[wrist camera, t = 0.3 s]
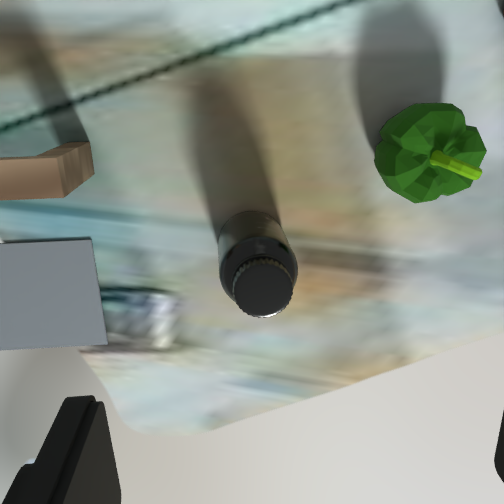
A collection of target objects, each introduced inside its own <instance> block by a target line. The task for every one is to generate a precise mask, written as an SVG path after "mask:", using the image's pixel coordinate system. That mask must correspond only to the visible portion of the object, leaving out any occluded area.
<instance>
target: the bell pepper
mask: <svg viewBox="0 0 504 504" xmlns="http://www.w3.org/2000/svg"><path fill="white" fill-rule="evenodd" d="M380 135H381V138H382V141H381V142H380V143H379V144H378V145H377V146H376V152H375V159H374V162H375V166H376V168H377V170H378V172H379V174H380V175H381V177H382V179H383V181H384V182H385V184H386V186H387V187H388V188H390V189H391V190H392V191H394V192H396V193H397V194H399V195H401V196H403V197H405V198H406V199H408V200H410V201H412V202H413V203H420V202H427V201H432V200H435V199H437V198H438V197H439V196H440V195H446V196H449V195H452V194H454V193H457V192H459V191H462V190H464V189H466V188H469V187H470V186H471V184H472V182H473V180H477V179H479V177H480V176H481V174H482V170H481V169H480V168H479V166H480V164H481V162H482V160H483V158H484V156H485V154H486V151H487V150H486V148H485V146H484V143H483V141H482V139H481V137H480V134H479V132H478V130H477V128H476V127H472V126H467V125H466V124H465V117H464V114H463V112H462V110H460V109H459V108H457V107H456V106H454V105H453V104H448V103H421V104H414V105H412V106H409V107H408V108H406V109H405V110H403V111H402V112H400V113H399V114H397V115H396V116H394V117H392V118H391V119H389V120H388V121H387V122H386V124H385V125H384V126H383V128H382V129H381V130H380Z"/></svg>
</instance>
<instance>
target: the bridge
mask: <svg viewBox="0 0 504 504" xmlns="http://www.w3.org/2000/svg"><path fill="white" fill-rule="evenodd" d="M92 175H94V167H93V160H92V154H91V147H90V142H67V143H65V144H63V145H60V146H58V147H56V148H53V149H51V150H49V151H46V152H44V153H42V154H39V155H37V156H31V157H4V158H0V200H20V199H44V198H64V197H65V196H67V195H68V194H69V193H71V192H72V191H73V190H74V189H76V188H77V187H78V186H80V185H81V184H82V183H83V182H85V181H86V180H87V179H89V178H90V177H91V176H92Z"/></svg>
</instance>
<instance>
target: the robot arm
mask: <svg viewBox="0 0 504 504" xmlns="http://www.w3.org/2000/svg"><path fill="white" fill-rule="evenodd" d="M494 462H495V468H496V471H497V473H498V475H499V476H500V478H501V479H502V481H503V482H504V412H503V417H502V422H501V427H500V432H499V437H498V443H497V448H496V452H495V458H494ZM2 504H121V489H120V484H119V478H118V473H117V468H116V463H115V458H114V452H113V447H112V442H111V437H110V432H109V426H108V421H107V416H106V411H105V407H104V403H103V402H102V401H99V402H96V400H95V397H94V396H92V395H90V396H77V397H67V398H65V400H64V402H63V403H62V406H61V408H60V410H59V412H58V414H57V416H56V418H55V420H54V422H53V424H52V427H51V429H50V431H49V433H48V435H47V437H46V439H45V441H44V443H43V446H42V448H41V450H40V452H39V454H38V456H37V458H36V460H35V462H34V463H32V464H25V465H24V466H23V467H21V469H20V470H19V472H18V473H17V475H16V477H15V479H14V481H13V483H12V485H11V487H10V489H9V491H8V493H7V495H6V497H5V499H4V501H3V503H2Z"/></svg>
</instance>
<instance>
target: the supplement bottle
mask: <svg viewBox="0 0 504 504" xmlns="http://www.w3.org/2000/svg"><path fill="white" fill-rule="evenodd" d="M218 255H219V276H220V281H221V284H222V287H223V289H224V291H225V292H226V294H227V295H228V296H229V297H230V298H231V299H232V300H233V301H235V302H236V304H237V305H238V306H239V308H240V309H242V310H243V312H245V313H247V314H248V315H252V316H253V317H258V318H260V317H263V318H265V317H271V316H272V315H276V314H277V313H279V312H281V311H282V310H283V309H285V308H286V306H287V305H288V304H289V301H290V300H291V296H292V294H293V288H294V286H295V283H296V280H297V275H298V265H297V261H296V258H295V255H294V253H293V251H292V249H291V247H290V244H289V242H288V240H287V238H286V236H285V234H284V232H283V230H282V228H281V226H280V225H279V224H278V222H277V221H276V220H275V219H274V218H272V217H271V216H269V215H267V214H265V213H262V212H258V211H247V212H242V213H240V214H237V215H235V216H234V217H232V218H231V219H230V220H228V221H227V222H226V224H225V225H224V226H223V228H222V230H221V232H220V235H219V240H218Z"/></svg>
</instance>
